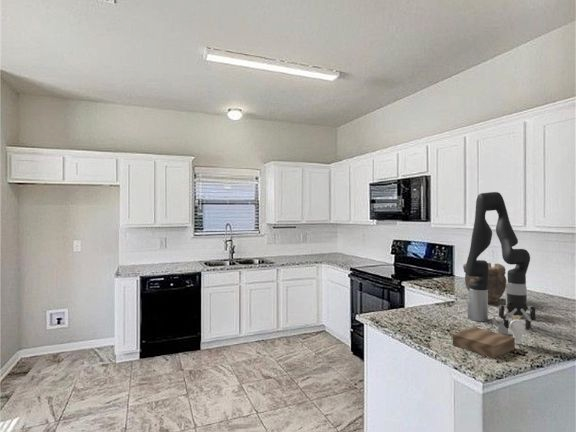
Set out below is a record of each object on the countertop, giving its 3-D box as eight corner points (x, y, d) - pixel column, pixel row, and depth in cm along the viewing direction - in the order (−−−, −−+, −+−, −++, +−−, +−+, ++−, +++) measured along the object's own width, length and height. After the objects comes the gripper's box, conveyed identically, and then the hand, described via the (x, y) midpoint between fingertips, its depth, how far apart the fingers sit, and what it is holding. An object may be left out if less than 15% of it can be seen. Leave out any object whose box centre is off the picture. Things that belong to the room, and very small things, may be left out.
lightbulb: (507, 341, 165) (507, 317, 165) (522, 342, 163) (522, 318, 163) (511, 345, 159) (511, 321, 159) (527, 347, 157) (527, 322, 157)
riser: (452, 345, 160) (452, 334, 160) (474, 337, 170) (474, 326, 170) (493, 358, 145) (493, 346, 145) (514, 348, 155) (514, 337, 155)
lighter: (507, 333, 175) (507, 317, 175) (508, 334, 173) (507, 318, 173) (491, 331, 178) (491, 315, 178) (491, 332, 177) (491, 316, 177)
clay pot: (469, 295, 256) (468, 260, 256) (510, 300, 240) (510, 263, 239) (458, 302, 237) (458, 265, 237) (502, 308, 220) (502, 268, 220)
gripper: (502, 293, 158) (503, 330, 158) (538, 295, 156) (538, 332, 155) (496, 290, 166) (496, 325, 166) (530, 291, 163) (530, 326, 163)
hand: (517, 328), depth 161 cm, fingers open, 8 cm apart
